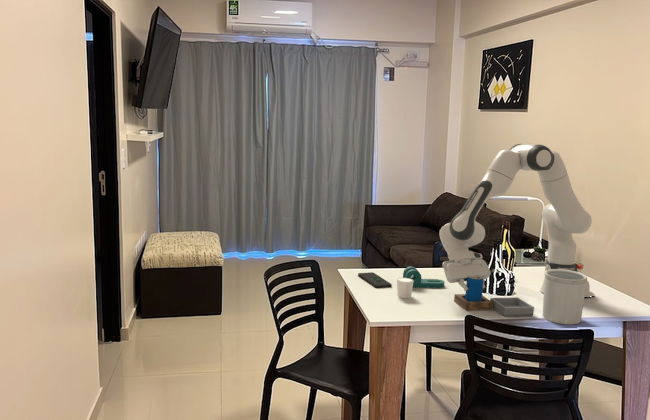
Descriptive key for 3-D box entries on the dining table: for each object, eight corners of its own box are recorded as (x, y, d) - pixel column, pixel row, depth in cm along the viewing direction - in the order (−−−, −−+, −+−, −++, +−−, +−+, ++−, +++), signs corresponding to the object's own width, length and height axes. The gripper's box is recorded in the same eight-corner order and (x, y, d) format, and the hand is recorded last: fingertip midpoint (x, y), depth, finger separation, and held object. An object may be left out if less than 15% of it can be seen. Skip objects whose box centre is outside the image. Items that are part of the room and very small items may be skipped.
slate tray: (517, 305, 232) (517, 297, 231) (533, 315, 220) (534, 307, 220) (489, 306, 229) (490, 297, 229) (504, 316, 218) (505, 308, 217)
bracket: (405, 287, 251) (406, 270, 250) (402, 283, 258) (403, 266, 256) (445, 288, 252) (447, 271, 251) (441, 284, 259) (443, 267, 258)
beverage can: (481, 309, 226) (484, 279, 224) (464, 307, 227) (467, 278, 225) (480, 303, 232) (483, 275, 230) (464, 302, 233) (466, 273, 231)
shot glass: (415, 295, 239) (416, 279, 238) (408, 299, 234) (409, 283, 233) (400, 292, 243) (401, 276, 242) (393, 296, 237) (394, 279, 236)
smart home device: (375, 285, 247) (357, 272, 266) (375, 289, 248) (357, 276, 266) (392, 284, 250) (373, 271, 269) (392, 288, 251) (373, 275, 269)
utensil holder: (551, 325, 211) (556, 279, 208) (533, 311, 225) (538, 268, 222) (589, 325, 212) (595, 280, 209) (569, 312, 227) (574, 269, 224)
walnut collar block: (479, 300, 236) (480, 293, 236) (492, 309, 225) (493, 302, 225) (454, 301, 234) (454, 294, 233) (465, 310, 223) (466, 303, 223)
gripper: (444, 257, 228) (458, 288, 221) (484, 253, 237) (499, 283, 230) (436, 265, 233) (450, 295, 226) (476, 261, 242) (490, 290, 235)
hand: (475, 289), depth 228 cm, fingers closed on beverage can, 6 cm apart
